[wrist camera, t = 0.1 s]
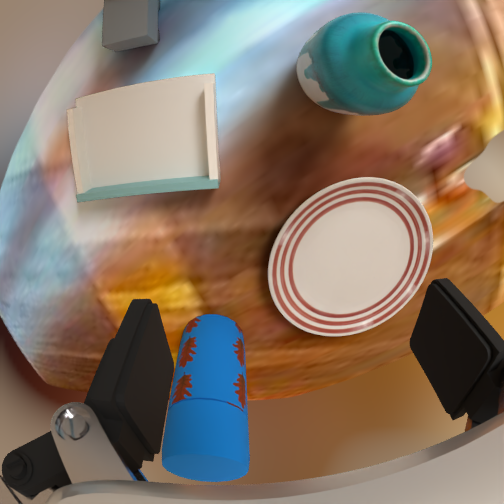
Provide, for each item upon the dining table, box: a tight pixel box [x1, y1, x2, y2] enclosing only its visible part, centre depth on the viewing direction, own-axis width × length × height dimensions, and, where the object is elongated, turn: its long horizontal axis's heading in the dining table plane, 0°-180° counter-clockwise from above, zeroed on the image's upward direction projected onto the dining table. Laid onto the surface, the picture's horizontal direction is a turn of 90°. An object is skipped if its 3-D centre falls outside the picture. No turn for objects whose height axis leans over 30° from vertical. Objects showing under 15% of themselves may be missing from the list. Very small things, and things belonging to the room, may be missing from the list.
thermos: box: [162, 314, 250, 482], centre depth 39 cm, size 11×11×25 cm
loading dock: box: [67, 74, 221, 202], centre depth 33 cm, size 14×19×4 cm
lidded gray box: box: [102, 0, 160, 52], centre depth 23 cm, size 8×6×9 cm
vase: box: [296, 13, 432, 116], centre depth 23 cm, size 11×11×19 cm
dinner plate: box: [268, 177, 433, 336], centre depth 43 cm, size 28×27×3 cm
